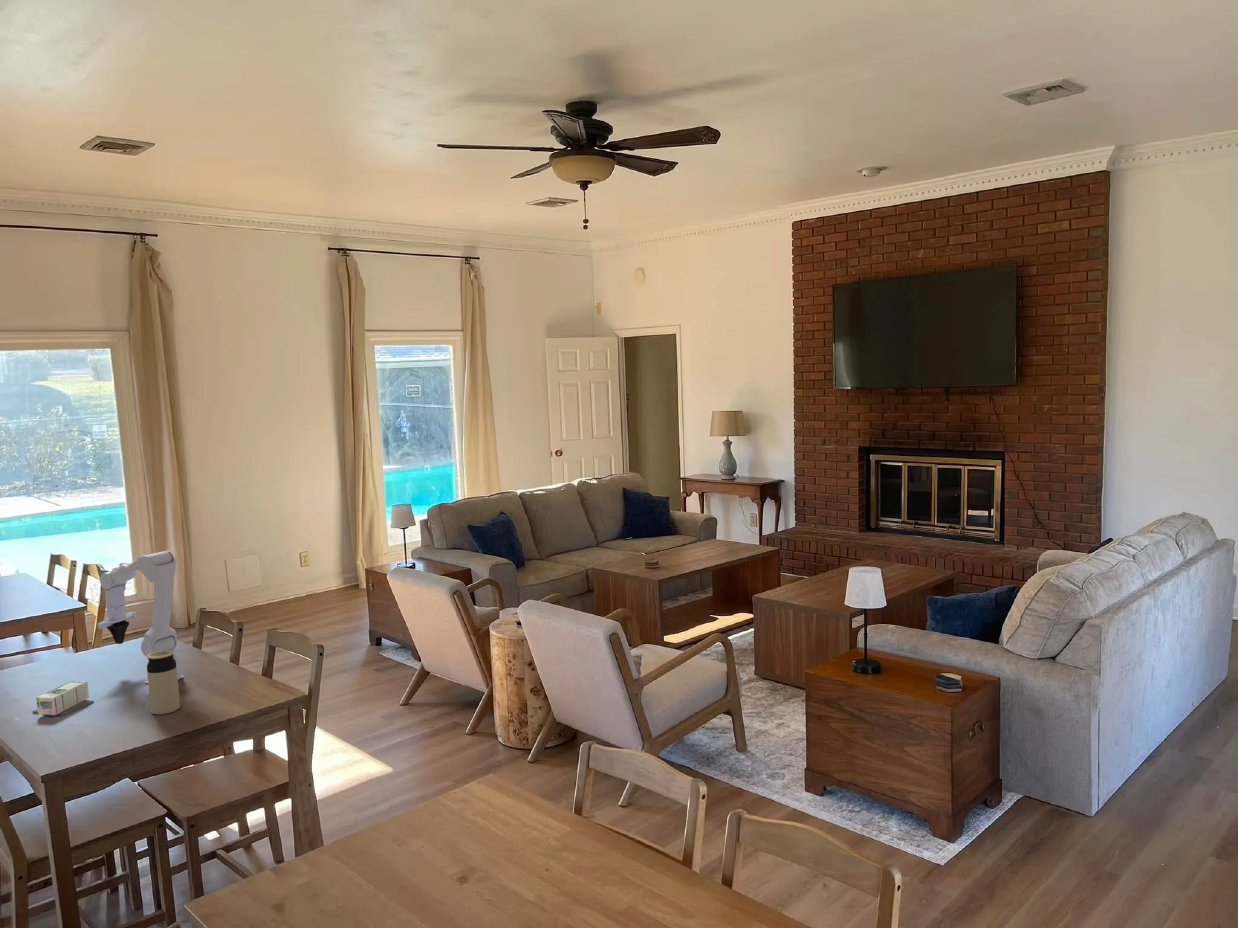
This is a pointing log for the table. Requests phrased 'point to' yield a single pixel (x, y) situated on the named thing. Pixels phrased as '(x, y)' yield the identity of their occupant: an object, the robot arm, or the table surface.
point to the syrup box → (62, 698)
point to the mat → (73, 708)
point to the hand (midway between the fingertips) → (119, 643)
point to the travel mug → (163, 682)
